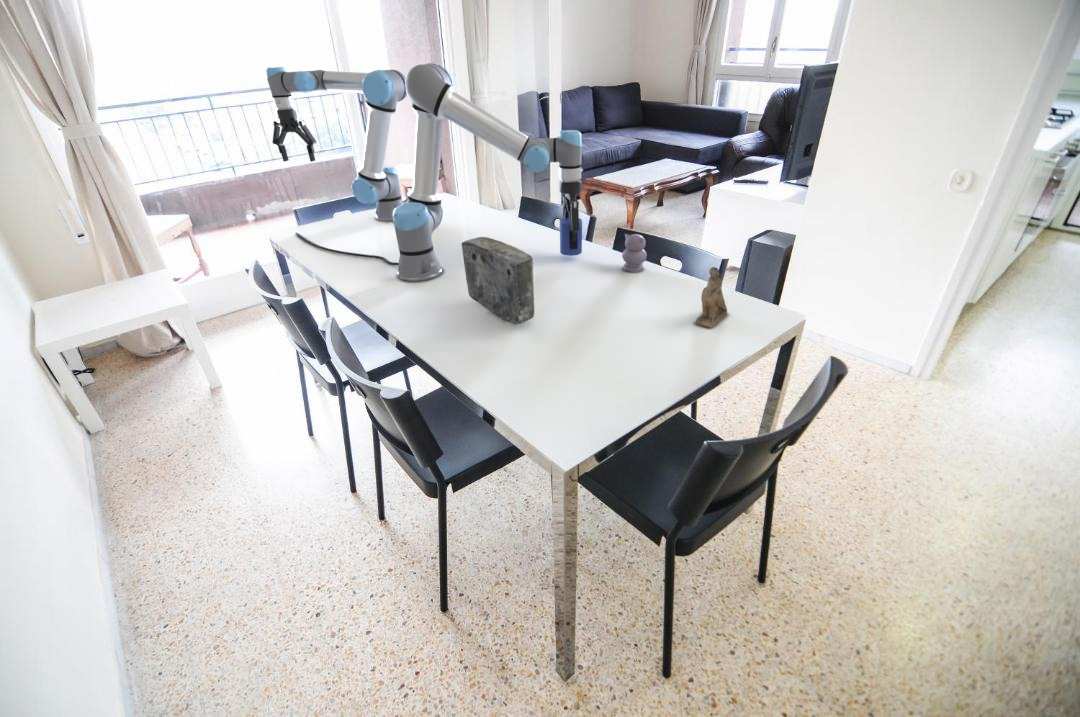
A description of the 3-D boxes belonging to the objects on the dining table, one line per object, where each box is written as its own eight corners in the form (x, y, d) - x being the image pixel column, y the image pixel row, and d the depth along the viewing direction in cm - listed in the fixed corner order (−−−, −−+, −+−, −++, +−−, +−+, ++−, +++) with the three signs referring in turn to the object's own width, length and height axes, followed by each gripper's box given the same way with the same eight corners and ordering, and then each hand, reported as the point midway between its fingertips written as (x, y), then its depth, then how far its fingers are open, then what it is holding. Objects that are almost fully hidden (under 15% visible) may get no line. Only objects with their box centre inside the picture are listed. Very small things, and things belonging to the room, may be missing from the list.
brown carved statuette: (709, 335, 136) (713, 280, 124) (691, 329, 139) (693, 274, 128) (730, 313, 142) (736, 258, 130) (712, 307, 145) (716, 253, 133)
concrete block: (541, 325, 139) (539, 257, 129) (515, 335, 135) (510, 265, 124) (492, 295, 158) (486, 233, 147) (468, 303, 153) (460, 240, 143)
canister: (557, 255, 180) (557, 223, 174) (562, 247, 187) (562, 217, 181) (579, 256, 178) (579, 224, 172) (583, 248, 185) (584, 217, 179)
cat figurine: (650, 268, 173) (653, 234, 167) (637, 274, 168) (640, 240, 162) (629, 262, 178) (631, 229, 172) (616, 269, 173) (618, 235, 167)
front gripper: (589, 185, 161) (588, 253, 173) (573, 173, 178) (573, 235, 190) (566, 187, 160) (567, 255, 172) (553, 174, 177) (554, 237, 189)
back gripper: (254, 109, 212) (269, 162, 223) (306, 108, 207) (319, 162, 218) (265, 108, 218) (280, 159, 229) (316, 107, 213) (328, 159, 225)
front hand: (570, 244), depth 181 cm, fingers closed on canister, 8 cm apart
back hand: (299, 161), depth 224 cm, fingers open, 13 cm apart
